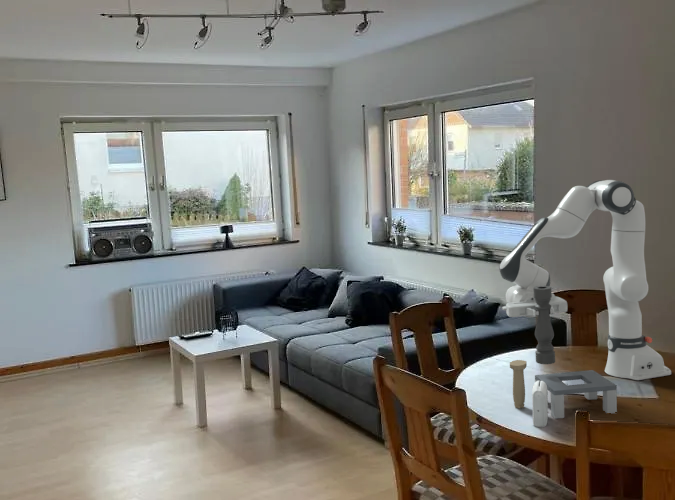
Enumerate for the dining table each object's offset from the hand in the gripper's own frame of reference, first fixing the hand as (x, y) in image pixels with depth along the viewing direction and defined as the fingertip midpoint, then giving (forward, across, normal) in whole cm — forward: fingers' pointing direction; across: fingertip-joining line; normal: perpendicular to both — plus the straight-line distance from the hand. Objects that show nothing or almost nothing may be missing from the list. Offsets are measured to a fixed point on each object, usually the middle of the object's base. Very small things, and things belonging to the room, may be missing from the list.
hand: (544, 312), depth 219 cm
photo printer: (+16, -9, +30) cm, 35 cm away
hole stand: (+7, +6, +30) cm, 32 cm away
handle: (+3, -11, +30) cm, 32 cm away
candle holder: (-1, 0, +17) cm, 17 cm away
